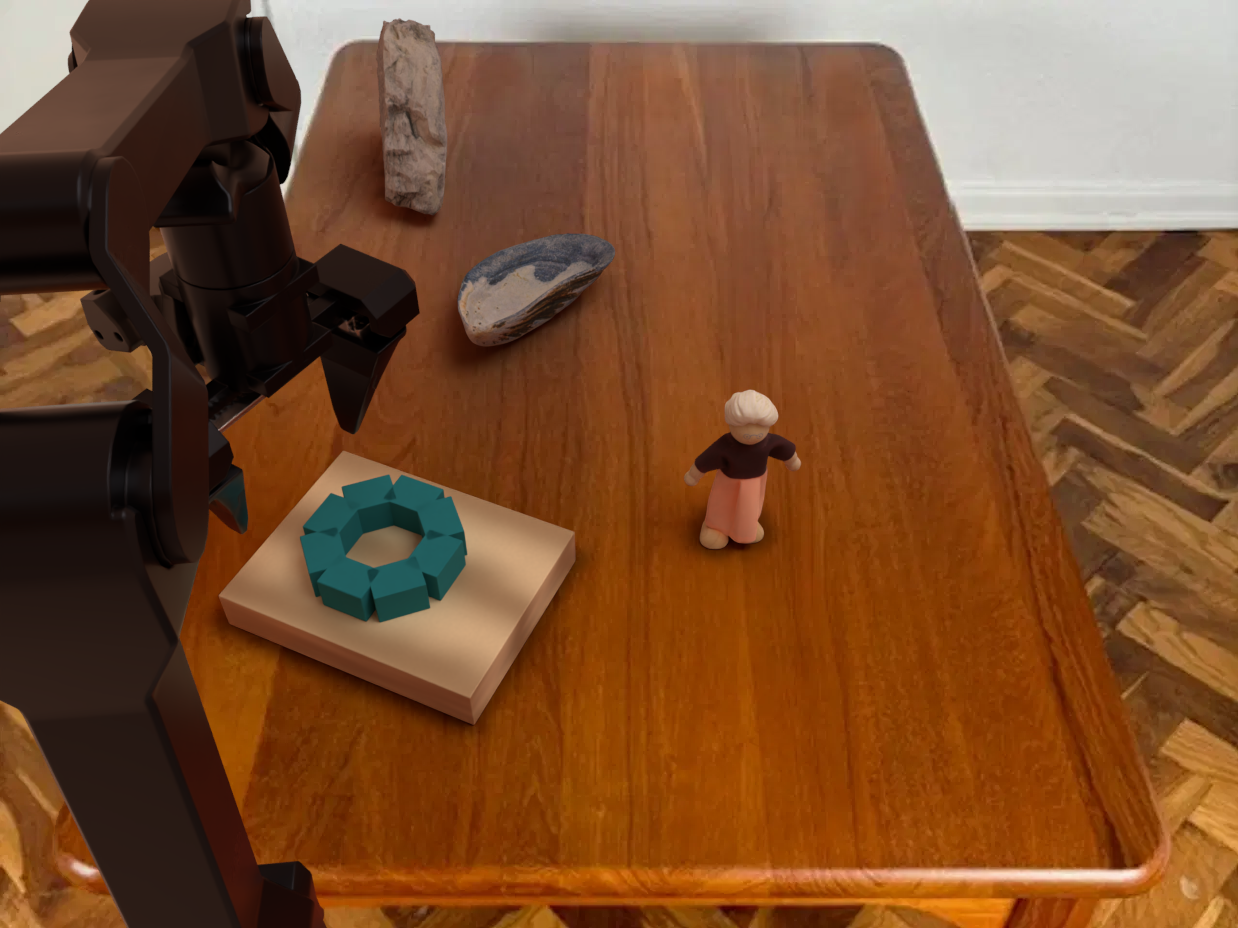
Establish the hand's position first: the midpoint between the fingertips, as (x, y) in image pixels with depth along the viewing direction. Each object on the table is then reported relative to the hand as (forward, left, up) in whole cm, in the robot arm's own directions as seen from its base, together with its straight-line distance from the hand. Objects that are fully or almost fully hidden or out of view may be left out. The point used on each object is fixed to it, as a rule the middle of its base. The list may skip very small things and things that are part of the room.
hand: (296, 478), depth 68 cm
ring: (+3, -2, -10) cm, 11 cm away
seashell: (+32, +2, -13) cm, 35 cm away
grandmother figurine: (+17, -21, -13) cm, 30 cm away
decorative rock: (+46, +21, -13) cm, 52 cm away
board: (+3, -3, -13) cm, 14 cm away
